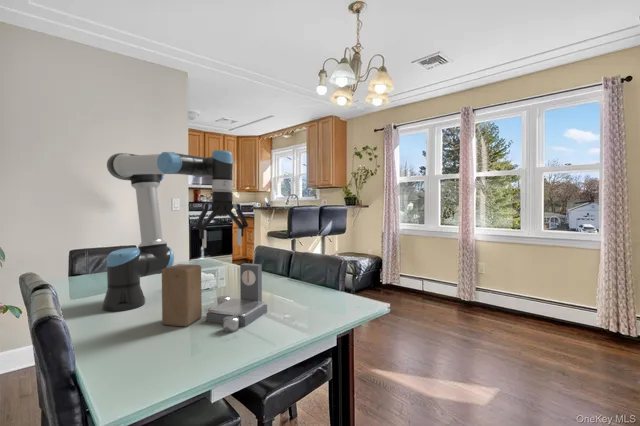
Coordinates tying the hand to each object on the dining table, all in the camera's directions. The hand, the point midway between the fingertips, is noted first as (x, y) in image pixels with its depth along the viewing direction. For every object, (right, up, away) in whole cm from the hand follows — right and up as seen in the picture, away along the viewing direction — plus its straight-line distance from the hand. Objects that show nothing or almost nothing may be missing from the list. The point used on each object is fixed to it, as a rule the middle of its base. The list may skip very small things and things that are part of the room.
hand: (222, 246), depth 127 cm
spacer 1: (-2, -26, +8) cm, 27 cm away
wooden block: (-12, -27, -9) cm, 30 cm away
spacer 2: (+8, -27, -17) cm, 32 cm away
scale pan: (+7, -26, -4) cm, 27 cm away
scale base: (+8, -26, -2) cm, 27 cm away
